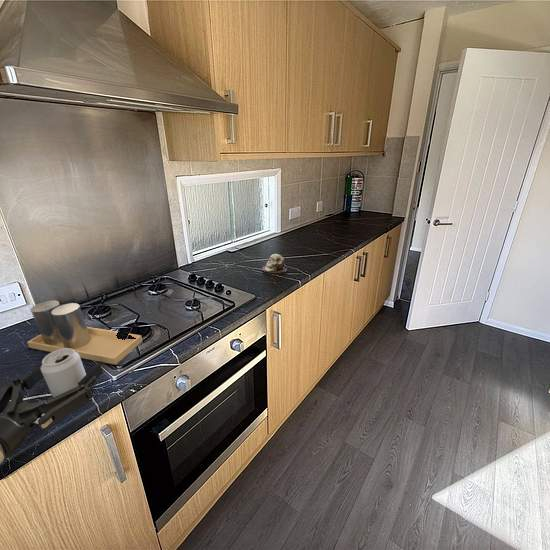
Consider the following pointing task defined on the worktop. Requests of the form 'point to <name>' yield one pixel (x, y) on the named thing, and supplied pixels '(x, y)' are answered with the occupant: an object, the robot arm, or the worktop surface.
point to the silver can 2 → (71, 325)
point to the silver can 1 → (46, 322)
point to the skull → (275, 264)
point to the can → (62, 370)
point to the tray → (96, 346)
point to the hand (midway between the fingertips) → (74, 366)
